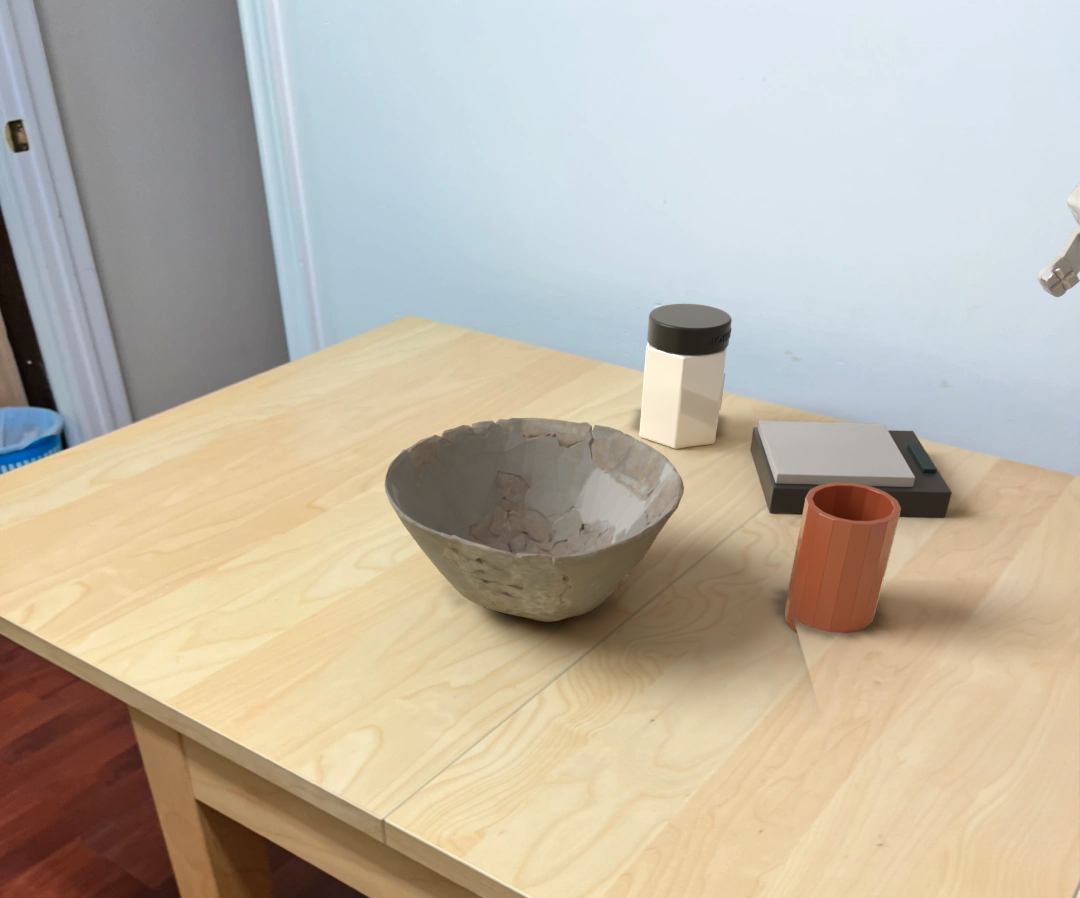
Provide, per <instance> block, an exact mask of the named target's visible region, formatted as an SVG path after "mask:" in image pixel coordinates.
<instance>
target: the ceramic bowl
mask: <svg viewBox="0 0 1080 898" xmlns="http://www.w3.org/2000/svg"><path fill="white" fill-rule="evenodd" d="M384 480H385V481H384V491H385V495H386V497H387V499H388V502H389V504H390V505H391V507H392V509H393V510H394V512H395V513H396V515H397V517H398V519H399V520H400V522H401V523H402V525H403V526H404V528H405V529H406V530H407V532H408V533H409V534H410V536H411V537H412V539H413V540H414V541H415V543H416V544H417V545H418V546H419V548H420V550H421V551H422V552H423V553H424V554H425V555H426V557H427V558H428V559H429V560H430V562H431V563H432V564H433V566H434V567H435V568H436V570H438V572H439V573H440V574H441V575H442V576H443V577H444V578H445V579H446V580H447V581H448V583H449V584H450V585H451V586H452V587H453V588H454V590H456V591H457V592H458V594H459V595H461V596H462V597H463V598H465V599H467V600H468V601H469V602H471V603H474V604H476V605H479V606H481V607H483V608H486V609H489V610H492V611H496V612H499V613H503V614H507V615H511V616H516V617H521V618H526V619H531V620H534V621H538V622H545V623H550V622H551V623H552V622H559V621H563V620H565V619H570V618H574V617H578V616H582V615H585V614H587V613H590V612H592V611H593V610H594V609H596V608H597V607H599V606H600V605H601V604H603V603H604V602H605V601H606V600H607V598H608V597H610V596H611V595H612V594H613V593H614V592H616V591H617V588H618V587H619V586H621V584H622V583H623V581H624V580H625V579H626V577H627V576H628V575H630V574H631V573H632V572H633V571H634V570H635V568H637V566H638V565H639V564H640V563H641V561H642V560H643V559H644V557H645V556H646V554H647V553H648V552H649V550H650V549H651V547H652V545H653V543H655V540H656V539H657V537H658V536H659V534H660V532H661V531H662V530H663V528H664V527H665V525H666V524H667V522H668V521H669V520H670V518H671V517H672V515H673V514H674V513H675V512H676V511H677V510H678V508H679V505H680V504H681V503H680V502H681V500H682V498H683V495H684V492H685V486H684V481H683V479H682V477H681V475H680V474H679V472H678V470H677V468H676V466H675V465H674V464H673V463H672V462H671V461H670V460H669V458H667V456H665V455H664V454H662V453H661V452H660V451H658V450H657V449H656V448H654V447H653V446H650V445H649V444H647V443H645V442H643V441H642V440H638V439H637V438H635V437H634V436H632V435H630V434H628V433H624V432H623V431H622V430H619V429H618V428H613V427H610V426H606V425H599V424H594V426H592V425H591V424H590V423H589V422H588V421H587V422H586V421H583V422H576V421H570V420H569V421H568V420H564V419H556V418H555V419H554V418H543V417H510V418H508V419H502V418H499V419H498V420H497V421H496V422H495V421H494V420H484V421H483V420H482V421H479V422H475V423H471V425H469V424H462V425H460V426H459V425H458V426H456V427H453V428H450V429H445V430H443V432H442V434H441V435H437V434H433V435H431V436H427V437H425V438H421V439H420V440H418V441H417V442H415V443H414V444H413V445H411V446H409V447H408V448H406V449H402V450H401V452H400V453H399V454H398V455H397V456H395V458H394V459H393V460H392V461H391V462H390V463H389V466H388V468H387V471H386V474H385V478H384Z"/></svg>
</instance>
